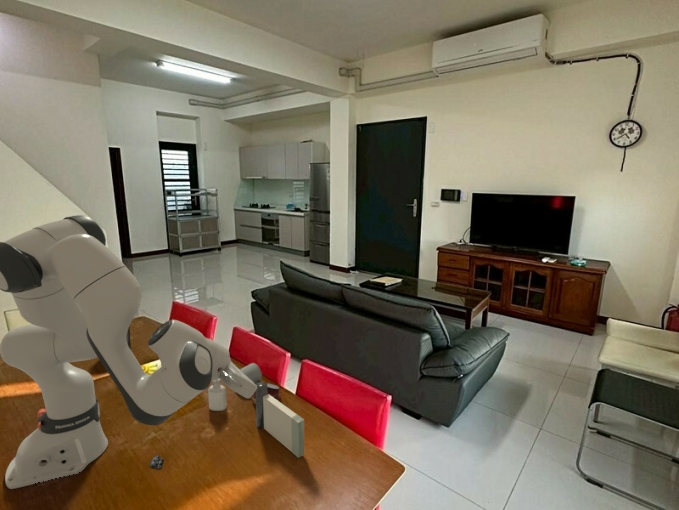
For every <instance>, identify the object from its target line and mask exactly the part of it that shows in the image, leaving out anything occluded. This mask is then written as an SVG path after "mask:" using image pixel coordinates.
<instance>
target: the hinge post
mask: <svg viewBox="0 0 679 510" xmlns="http://www.w3.org/2000/svg"><path fill="white" fill-rule="evenodd" d="M267 384H268V383H267V382H265V381H261V382H259V383H257V384H256V385H257V389H256V405H255V408H256V410H255V415H256V427H257V429H259V430H265V429H264V409H263V396H266V395H268V394H267Z"/></svg>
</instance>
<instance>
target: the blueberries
mask: <svg viewBox="0 0 679 510" xmlns="http://www.w3.org/2000/svg"><path fill="white" fill-rule="evenodd" d="M163 464H164V458H163V457H160V455H158V454H157V455H155V456H154V457H153V458H152V460H151V461H150V463H149V467H150V468H152V469H155V470H161V469H162V468H163Z"/></svg>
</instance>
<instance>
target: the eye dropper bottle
mask: <svg viewBox="0 0 679 510" xmlns="http://www.w3.org/2000/svg"><path fill="white" fill-rule="evenodd" d="M207 393H208V408H209V410H211V411H215V412H221V411H225V410H226V408H227V406H228V405H227V390H226V386H224V385H222V384H221V379H220V378H219V379H215V380H213V381H212V385H209V386H208V388H207Z"/></svg>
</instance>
